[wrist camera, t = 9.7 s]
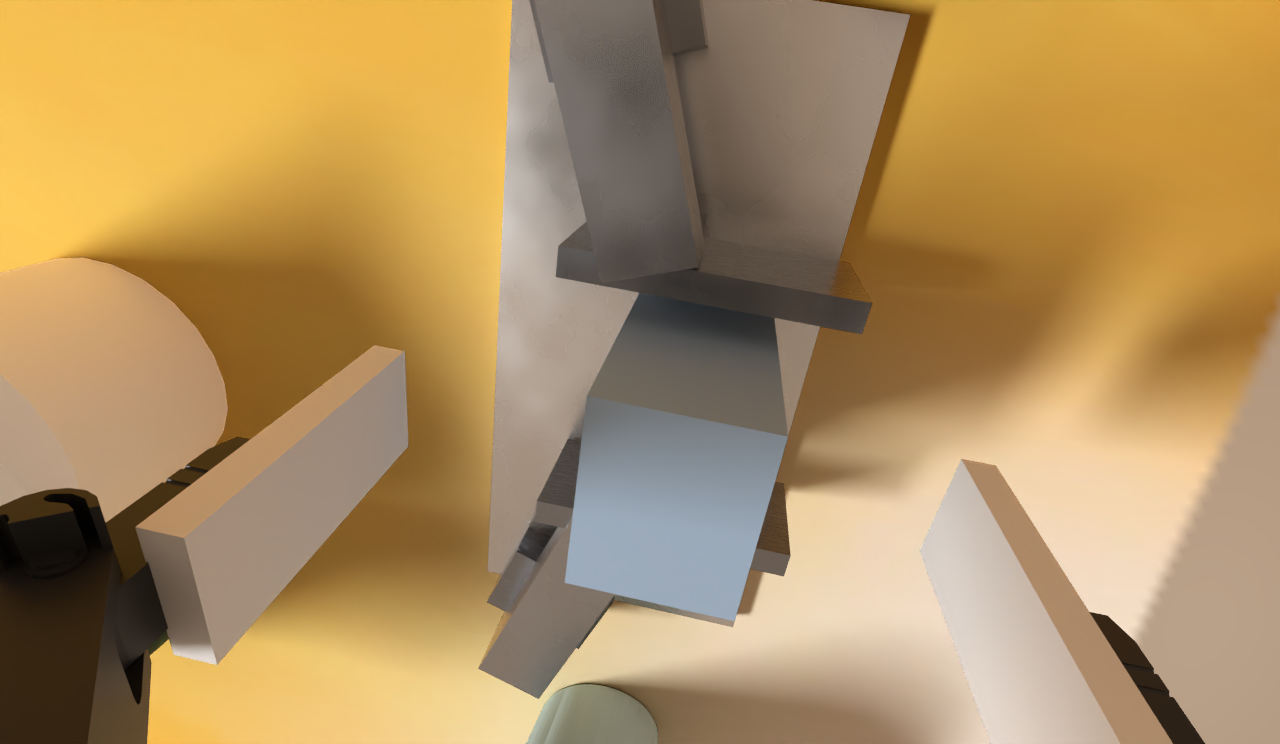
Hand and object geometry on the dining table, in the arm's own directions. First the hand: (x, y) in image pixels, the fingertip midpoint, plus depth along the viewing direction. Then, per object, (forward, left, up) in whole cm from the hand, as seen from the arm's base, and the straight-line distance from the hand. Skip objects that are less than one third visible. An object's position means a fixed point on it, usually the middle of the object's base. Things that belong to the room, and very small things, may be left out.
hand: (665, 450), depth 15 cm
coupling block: (0, 0, -6) cm, 6 cm away
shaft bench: (0, -1, -6) cm, 6 cm away
